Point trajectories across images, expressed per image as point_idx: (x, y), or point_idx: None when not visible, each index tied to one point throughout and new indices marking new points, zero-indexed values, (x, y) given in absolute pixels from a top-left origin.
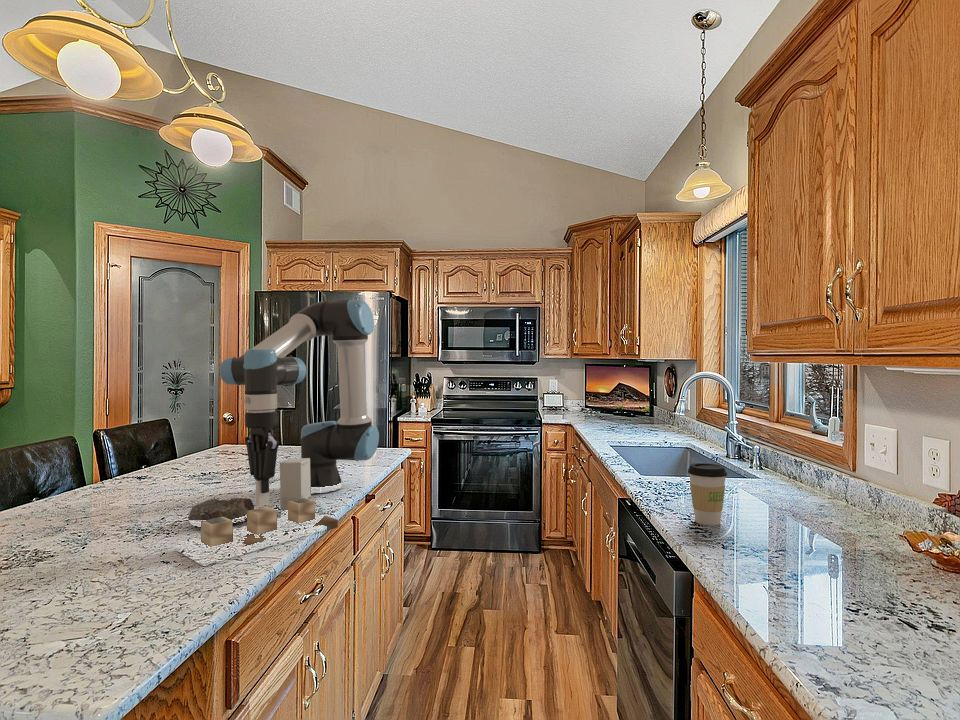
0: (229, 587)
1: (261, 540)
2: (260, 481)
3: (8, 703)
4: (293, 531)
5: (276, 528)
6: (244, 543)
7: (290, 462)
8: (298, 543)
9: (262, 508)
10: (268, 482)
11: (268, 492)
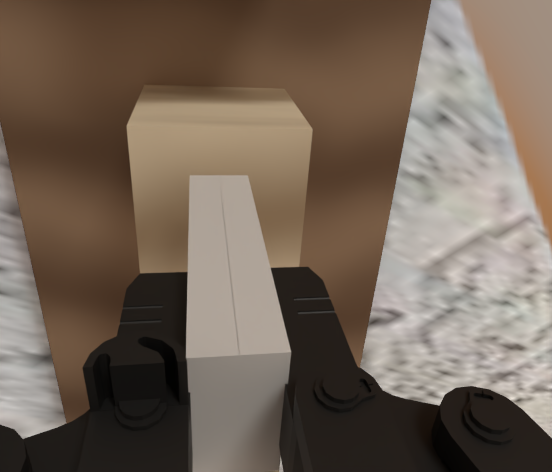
0: (546, 405)
1: (375, 237)
2: (278, 435)
3: None
4: (413, 40)
5: (284, 91)
6: (339, 300)
7: None
8: (466, 54)
9: (170, 182)
10: (348, 352)
11: (261, 239)
